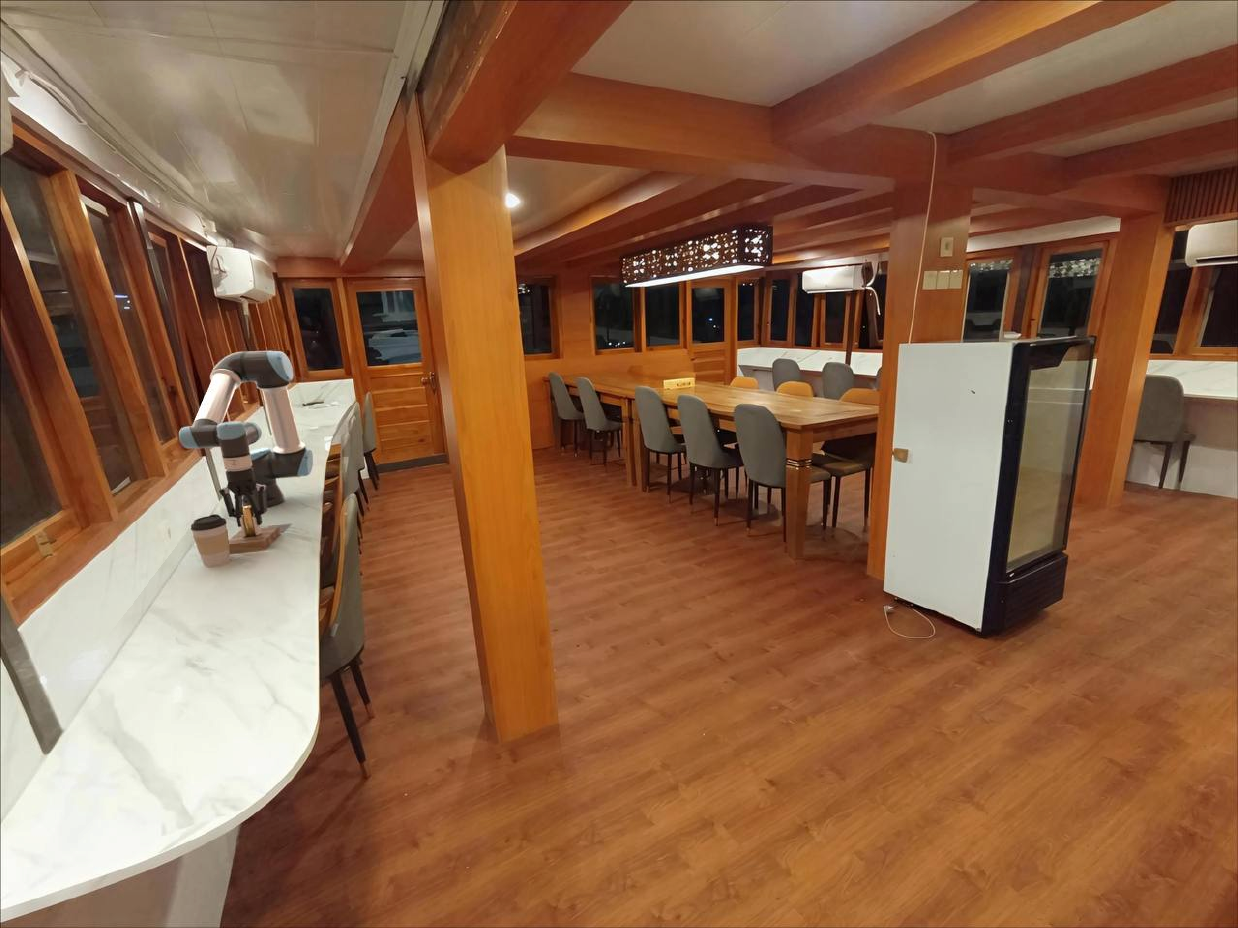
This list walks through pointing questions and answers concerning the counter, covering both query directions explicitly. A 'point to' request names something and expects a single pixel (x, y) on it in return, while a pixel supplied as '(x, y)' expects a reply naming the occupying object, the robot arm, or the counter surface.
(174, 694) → the counter surface
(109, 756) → the counter surface
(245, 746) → the counter surface
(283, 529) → the mat
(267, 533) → the hole block
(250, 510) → the peg
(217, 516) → the coffee cup
